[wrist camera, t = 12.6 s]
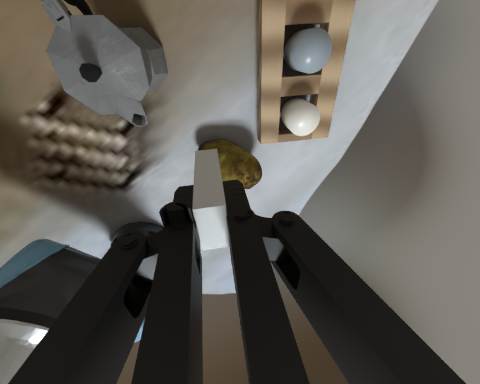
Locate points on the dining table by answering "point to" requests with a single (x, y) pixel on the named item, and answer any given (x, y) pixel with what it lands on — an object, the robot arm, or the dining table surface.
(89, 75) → the coffeepot
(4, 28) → the dining table surface
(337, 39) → the wooden egg rack
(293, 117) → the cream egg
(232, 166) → the potato
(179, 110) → the dining table surface
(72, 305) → the robot arm
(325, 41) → the slate egg
